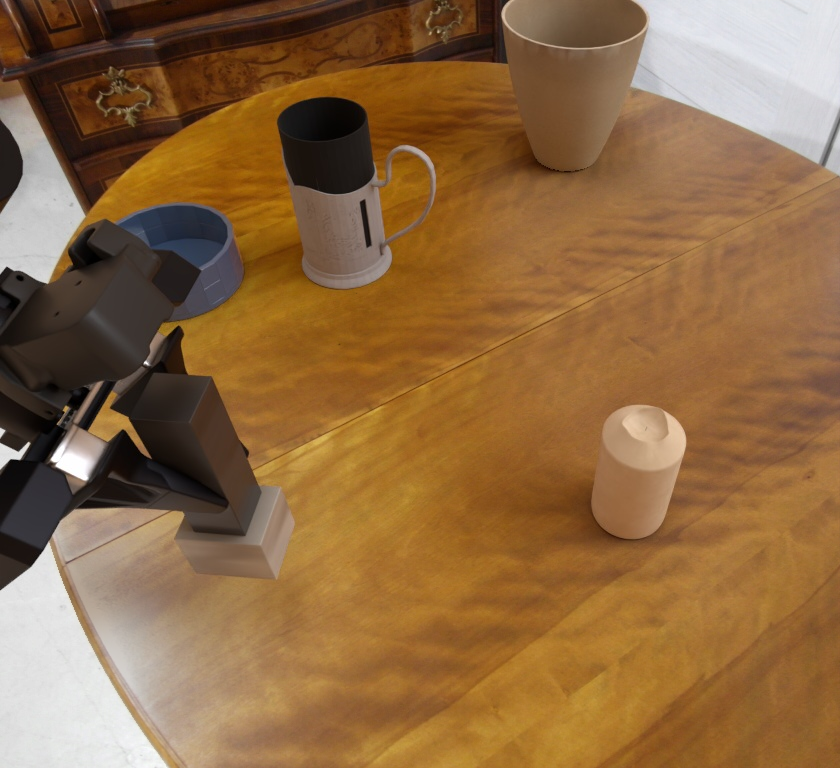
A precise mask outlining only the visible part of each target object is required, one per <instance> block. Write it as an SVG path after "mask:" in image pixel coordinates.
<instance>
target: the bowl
mask: <svg viewBox="0 0 840 768" xmlns="http://www.w3.org/2000/svg"><path fill="white" fill-rule="evenodd" d="M113 223H114V224H116V225H118V226H120V227H121V228H123V229H125V230H127V231H128V232H130V233H132V234H134V235H135V236H137V237H139V238H140V239H142V240H143V241H144V242H145V243H146V244H147V245H148V246H149V247H150V249H159V250H172V251H174V252H175V253H177V254H178V255H180V256H181V257H183V258H184V259H186V260H187V261H189V262H190V263H192V264H193V265H194V266H196V267H197V268H199V269H200V270H201V273H200V275H199V276H198V278H197V280H196V282H195V284H194V285H193V287H192V289H191V291H190V292H189V294H188V296H187V298H186V299H185V301H184V302H183V303H182V304H181V305H180V306H179V307H174V312H173V314H172V316H171V318H170V319H169V320H168V321H163V323H167V322H168V323H169V322H170V323H171V322H179V321H184V320H188V319H192V318H196V317H198V316H201V315H204V314H206V313H208V312H210V311H212V310H214V309H216V308H217V307H219V306H221V305H222V304H224V303H225V302H226V301H228V300H229V299H230V298H231V297H232V296H233V295H234V294H235V293H236V292H237V290H238V289H239V288H240V286H241V284H242V282H243V280H244V276H245V265H244V262H243V260H244V259H243V256H242V251H241V249H240V246H239V242H238V239H237V235H236V232H235V229H234V225H233V223H232V222H231V221H230V219H229V218H228V217H227V215H226V214H224V213H223V212H222V211H220V210H218V209H217V208H214V207H212V206H209V205H205V204H201V203H197V202H181V201H180V202H169V203H161V204H155V205H152V206H148V207H145V208H142V209H139V210H136V211H133V212H131V213H129V214H127V215H125V216H124V217H122V218H120V219H118V220H116V221H115V222H113Z"/></svg>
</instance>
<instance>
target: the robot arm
mask: <svg viewBox="0 0 840 768" xmlns="http://www.w3.org/2000/svg"><path fill="white" fill-rule="evenodd" d="M23 175H24V159H23V156H22V152H21V149H20V146H19V143H18V142H17V140H16V138H15V137H14V135H13V133H12V132H11V130H10V129H9V128H8V127H7V125H6V124H5V123H4V122H3V121H2V119H0V215H1V213H3V211H4V209H5V208H6V206H7V205H8V203H9V202H10V200H11V199H12V197H13V195H14V194H15V192H16V190H18V188H19V185H20V183H21V180H22V179H23ZM114 223H115V222H113V221H111V220H110V219H108V218H106V217H105V218H102V219H100V220H98V221H95V222H92V223H90V224H87V225H85V226H84V227H83V229H82V230H81V231H80V233H79V234H77V237H76V238H75V239H74V240H73V242H72V243H71V244H70V245H69V246H68V249H67V254H68V255H67V256H68V257H69V259H70V262H71V264H70V265H68V266H67V267H66V269H64V271H63V272H62V274H61V275H60V277H58V278H57V279H55V280H54V281H51V282H49V283H46V282H44V281H41V280H39V279H36V278H34V277H32V276H31V275H29V274H28V273H26V272H25V271H22V270H14V269H12V268H10V267H9V266H6V267H5V268H4V269H2V271H1V272H0V429H2V430H3V431H4V432H3V433H2V435H1V436H0V444H1V445H3V446H5V447H7V448H9V449H12V450H14V451H16V452H18V453H19V452H20V451H22V450H23V448H25V446H26V445H27V444H28V443H29V445H28V446H27V448H26V450H25V451H24V452H23V454H22V456H21V458H20V459H17V458H16V459H15V458H10V459H9V460H8V461H7V462H6V463H5V464H4V465H3V466H2V467H1V468H0V591H2V590H3V589H5V588H6V587H7V586H9V585H11V583H12V582H14V581H15V580H16V579H17V578H18V577H20V576H22V575H23V574H24V573H25V572H27V571H28V570H30V569H31V568H32V567H33V565H34V564H35V563H36V561H38V559H39V558H40V556H41V555H42V553H44V551H45V550H46V547H47V546H48V545H49V542H50V540H51V538H52V537H53V535H54V534H55V531H56V530H57V528H58V526H59V525H60V522H61V521H62V520H64V519H65V518H67V516H69V515H70V514H71V513H72V512H73V511H74V510H101V509H106V510H107V509H141V510H142V509H143V510H154V511H155V510H157V511H158V510H159V511H169V512H170V511H171V512H182V511H183V512H198V513H212V514H219V513H221V512H223V511H224V510H226V509H227V508H228V506H229V501H228V500H226V499H225V498H223V497H222V496H220V495H219V494H217V493H216V492H214V491H213V490H211V489H210V488H208V487H207V486H205V485H203V484H201V483H199V482H197V481H195V480H193V479H191V478H189V477H187V476H185V475H183V474H181V473H179V472H177V471H175V470H173V469H171V468H169V467H167V466H165V465H163V464H161V463H159V462H157V461H155V460H153V459H151V457H150V456H147V455H145V454H144V453H143V452H141V450H140V449H139V447H138V446H137V445H136V443H135V442H134V440H133V439H132V437H131V436H130V435H129V433H128V432H127V431H126V429H124V428H122V429H120V430H119V431H118V432H117V433H116V434H115V435H114V436H113V437H111V438H110V439H109V440H108V441H107V440H105V439H103V438H102V437H99V436H97V435H96V434H93V433H91V432H90V431H89V430H90V428H91V427H92V426H93V423H94V422H95V420H96V418H97V416H98V415H99V413H100V411H101V410H102V408H103V406H104V404H105V403H106V401H107V399H108V398H109V396H110V394H111V393H112V392H113V393H115V394H116V396H115V397H114V399H113V400H112V403H110V406H109V409H110V410H112V411H114V412H116V413H118V414H121V415H122V416H125V417H126V418H129V416H130V414H131V413H132V411H133V409H134V407H135V405H136V404H137V402H138V400H139V398H140V396H141V395H142V393H143V391H144V389H145V387H146V385H147V384H148V382H149V380H150V378H151V376H152V375H153V373H168V374H184V375H189V373H188V371H187V369H186V365H185V359H184V355H183V349H182V341H183V339H184V337H185V332H184V330H183V327H182V326H181V325H177V326H176V327H174V328H173V329H172V330H171V331H170V332H169V333H168V335H164V334H163V333H162V332H160V331H159V330H160V328H161V326H162V325H163V323H164V322H163V321H168V320H169V319H170V318H171V316H172V314H173V312H174V307H179V306H180V305H181V304H182V303H183V302H184V301H185V299H186V298H187V296H188V294H189V292H190V291H191V289H192V287H193V285H194V284H195V282H196V280H197V278H198V276H199V275H200V273H201V270H200V269H199V268H197V267H196V266H194V265H193V264H192V263H190V262H189V261H187V260H186V259H184V258H183V257H181V256H180V255H178V254H177V253H175V252H174V251H172V250H159V249H150V247H149V246H148V245H147V244H146V243H145V242H144V241H143V240H142V239H140V238H139V237H137V236H135V235H134V234H132V233H130V232H128V231H127V230H125V229H123V228H121V227H120V226H118V225H116V224H114ZM66 407H68V408H67V409H66V411H65V410H64V409H65V408H66ZM240 443H241V445H242V447H243V450H244V452H245V454H246V457H247V459H248V458H249V456H250V451H249V449H248V448H247V447H246V445H244V443H243V442H242V441H241V440H240ZM183 512H182V513H183Z"/></svg>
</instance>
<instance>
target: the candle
mask: <svg viewBox="0 0 840 768" xmlns="http://www.w3.org/2000/svg"><path fill="white" fill-rule="evenodd" d="M686 448H687V436H686V433H685V430H684V428H683V427H682V424H681V423H680V422H679V421H678V420H677V419H676V418H675V417H674V416H673V415H671V414H670V413H669V412H667V411H666V410H664V409H662V408H661V407H658V406H652V405H648V404H631V405H626V406H623V407H620V408H618V409H616V410H615V411H614V412H612V413H611V414H610V415H609V416H608V417H607V418H606V420H605V422H604V423H603V426H602V431H601V438H600V443H599V449H598V456H597V461H596V466H595V467H596V468H595V473H594V480H593V481H594V482H593V486H592V492H591V500H590V506H591V507H590V508H591V512H592V515H593V517H594V519H595V521H596V523H597V524H598V525H599V526H600V527H601V528H602V529H603V530H604V531H605V532H607V533H609V534H610V535H612V536H614V537H617V538H620V539H625V540H638V539H639V540H640V539H644V538H646V537H649V536H651V535H653V534H654V533H655V532H657V531H658V529H659V528H660V527H661V525H662V524H663V522H664V520H665V517H666V515H667V512H668V508H669V505H670V502H671V499H672V495H673V492H674V489H675V485H676V482H677V478H678V475H679V472H680V468H681V465H682V462H683V458H684V456H685V452H686Z"/></svg>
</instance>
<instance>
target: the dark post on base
mask: <svg viewBox="0 0 840 768" xmlns="http://www.w3.org/2000/svg"><path fill="white" fill-rule="evenodd" d="M220 394H221V393H220V392H219V389H218V387H217V385H216V382H215V381H214V378H213V376H211V375H200V374H199V375H198V374H188V375H184V374H168V373H153V375H152V376H151V378H150V380H149V382H148V384H147V385H146V387H145V389H144V391H143V393H142V395H141V396H140V398H139V400H138V402H137V404H136V405H135V407H134V409H133V411H132V413H131V414H130V416H129V417H128V421H129V422H130V424H131V426H132V428H133V430H134V431H135V433H136V434H137V437H138V438H139V439H140V442H141V443H142V445H143V446H144V448H145V450H146V452H147V453H148V455H149V458H151V459H153V460H155V461H157V462H159V463H161V464H163V465H165V466H167V467H169V468H171V469H173V470H175V471H177V472H179V473H181V474H183V475H185V476H187V477H189V478H191V479H193V480H195V481H197V482H199V483H201V484H203V485H205V486H207V487H208V488H210V489H211V490H213V491H214V492H216V493H217V494H219V495H220V496H222V497H223V498H225V499H226V500H228V501H229V506H228V508H227V509H226V510H224V511H223V512H221V513H219V514H212V513H198V512H183V511H181V513H183V517H182V519H181V522H180V524H179V527H178V529H177V531H176V534H175V536H174V541H175V543H176V544H177V546H178V548H179V549H180V551H181V553H182V554H183V555H184V557H185V559H186V561H187V562H188V563H189V565H190V566H191V568H192V570H193V572H194V573H195V574H197V575H206V576H207V575H208V576H220V577H232V578H246V579H257V580H258V579H259V580H271V581H277V580H278V578H279V574H280V571H281V568H282V566H283V562H284V560H285V556H286V553H287V551H288V546H289V544H290V541H291V538H292V535H293V531H294V528H295V525H296V522H295V519H294V516H293V514H292V511H291V509H290V506H289V504H288V501H287V498H286V496H285V493H284V491H283V487H281V486H278V485H277V486H276V485H263V484H262V485H261V484H259V482H258V480H257V478H256V475H255V473H254V471H253V468H252V466H251V464H250V462H249V459H248V458H247V457H246V454H245V452H244V450H243V447H242V445H241V443H240V441H241V440H240V438H239V436H238V434H237V431H236V429H235V427H234V424H233V422H232V420H231V418H230V415H229V412H228V411H227V407H226V406H225V403H224V401H223V399H222V396H221V395H220Z"/></svg>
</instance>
